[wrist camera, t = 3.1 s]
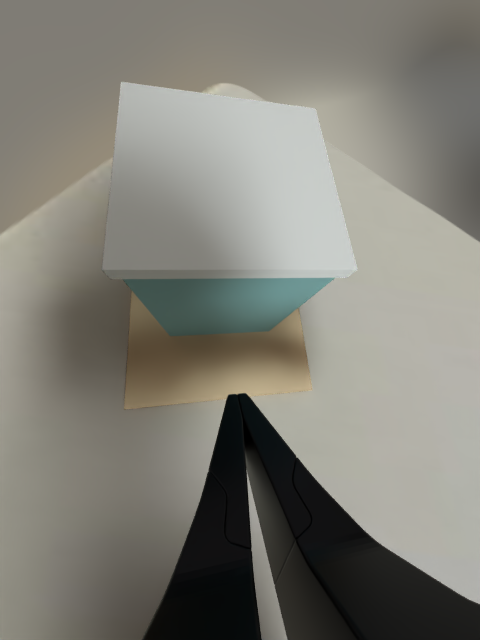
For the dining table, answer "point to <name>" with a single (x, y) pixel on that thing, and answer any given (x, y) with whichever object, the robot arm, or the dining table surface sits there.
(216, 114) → the tin
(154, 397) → the plinth board
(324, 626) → the robot arm
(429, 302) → the dining table surface
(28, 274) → the dining table surface
